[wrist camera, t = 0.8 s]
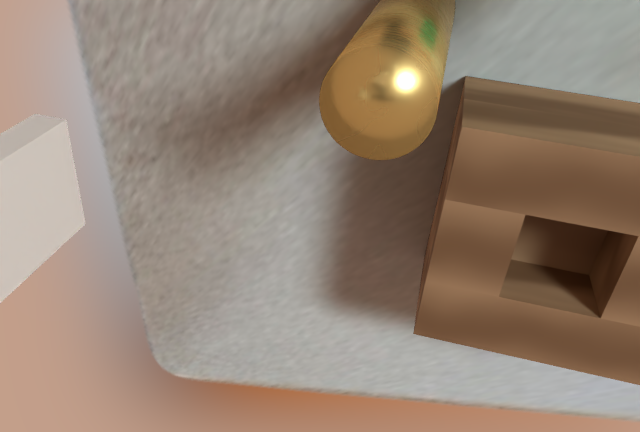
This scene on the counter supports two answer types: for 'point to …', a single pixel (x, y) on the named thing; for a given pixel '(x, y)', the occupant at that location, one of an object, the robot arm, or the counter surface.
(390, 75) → the brass pin
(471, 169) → the bore block
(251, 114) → the counter surface
